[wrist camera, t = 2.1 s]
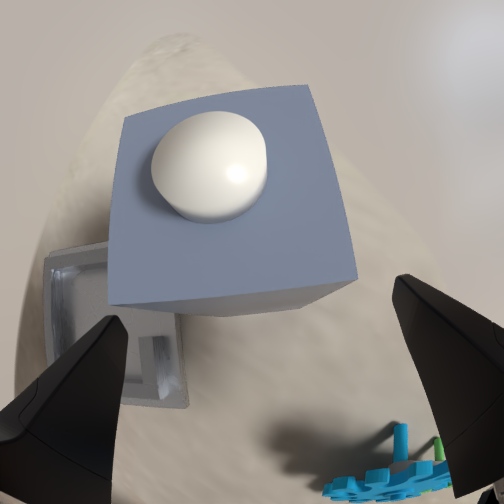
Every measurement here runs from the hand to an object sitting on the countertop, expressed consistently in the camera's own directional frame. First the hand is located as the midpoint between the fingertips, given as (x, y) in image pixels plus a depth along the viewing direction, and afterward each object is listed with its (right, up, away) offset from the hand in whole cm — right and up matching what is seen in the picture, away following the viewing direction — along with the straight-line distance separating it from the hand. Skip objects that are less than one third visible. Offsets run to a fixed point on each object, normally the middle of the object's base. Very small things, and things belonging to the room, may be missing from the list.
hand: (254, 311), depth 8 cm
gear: (+10, -14, +6) cm, 18 cm away
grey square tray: (-11, -4, +10) cm, 15 cm away
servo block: (0, 0, +10) cm, 10 cm away
